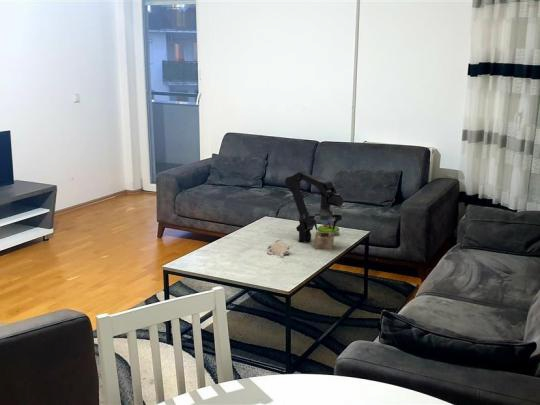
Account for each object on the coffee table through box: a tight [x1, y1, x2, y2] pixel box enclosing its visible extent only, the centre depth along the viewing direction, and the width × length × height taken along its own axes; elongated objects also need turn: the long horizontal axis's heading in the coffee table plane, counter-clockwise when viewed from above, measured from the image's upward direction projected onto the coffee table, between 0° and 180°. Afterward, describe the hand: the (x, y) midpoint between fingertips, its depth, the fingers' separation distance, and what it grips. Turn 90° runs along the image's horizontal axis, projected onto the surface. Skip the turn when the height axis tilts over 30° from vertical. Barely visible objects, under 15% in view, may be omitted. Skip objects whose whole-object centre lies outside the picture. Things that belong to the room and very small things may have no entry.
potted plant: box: [316, 209, 340, 234], centre depth 367 cm, size 14×13×15 cm
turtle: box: [266, 238, 295, 258], centre depth 333 cm, size 16×10×10 cm, turn 72°
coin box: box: [314, 231, 335, 251], centre depth 344 cm, size 10×10×7 cm
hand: (324, 230), depth 343 cm, fingers open, 9 cm apart
